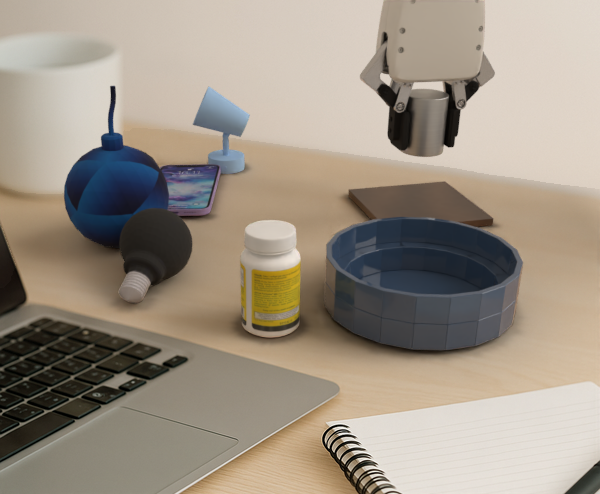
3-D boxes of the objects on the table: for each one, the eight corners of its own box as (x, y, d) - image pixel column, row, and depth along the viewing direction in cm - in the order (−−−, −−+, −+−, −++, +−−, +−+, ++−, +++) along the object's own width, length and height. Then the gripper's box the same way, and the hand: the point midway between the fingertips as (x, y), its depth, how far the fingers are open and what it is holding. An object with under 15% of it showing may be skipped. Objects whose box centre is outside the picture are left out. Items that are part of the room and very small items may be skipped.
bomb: (182, 222, 86) (174, 77, 80) (159, 266, 77) (148, 105, 70) (90, 219, 87) (74, 74, 80) (56, 262, 77) (35, 101, 70)
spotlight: (193, 174, 100) (250, 174, 100) (188, 91, 96) (248, 92, 96) (196, 161, 105) (251, 161, 105) (192, 81, 100) (250, 82, 100)
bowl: (461, 258, 80) (467, 210, 77) (550, 340, 66) (561, 283, 64) (302, 276, 75) (303, 225, 73) (361, 367, 62) (365, 308, 60)
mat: (444, 187, 97) (445, 181, 97) (492, 225, 87) (493, 218, 87) (348, 195, 94) (348, 189, 94) (386, 236, 84) (387, 228, 84)
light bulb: (89, 265, 67) (134, 185, 73) (93, 313, 72) (135, 234, 78) (165, 286, 67) (203, 204, 73) (164, 333, 71) (200, 252, 78)
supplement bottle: (311, 325, 67) (314, 230, 63) (268, 345, 64) (268, 246, 61) (272, 305, 70) (272, 212, 66) (229, 323, 67) (226, 227, 64)
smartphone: (139, 210, 87) (160, 164, 100) (140, 218, 87) (161, 171, 101) (209, 209, 87) (221, 164, 100) (210, 217, 87) (222, 171, 101)
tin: (432, 143, 90) (437, 87, 88) (450, 155, 86) (456, 98, 84) (392, 145, 89) (397, 89, 86) (409, 158, 85) (414, 100, 82)
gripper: (499, -45, 84) (477, 131, 93) (342, -45, 80) (334, 139, 88) (538, -37, 78) (510, 151, 86) (369, -36, 74) (358, 161, 82)
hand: (421, 143), depth 87 cm, fingers closed on tin, 4 cm apart
